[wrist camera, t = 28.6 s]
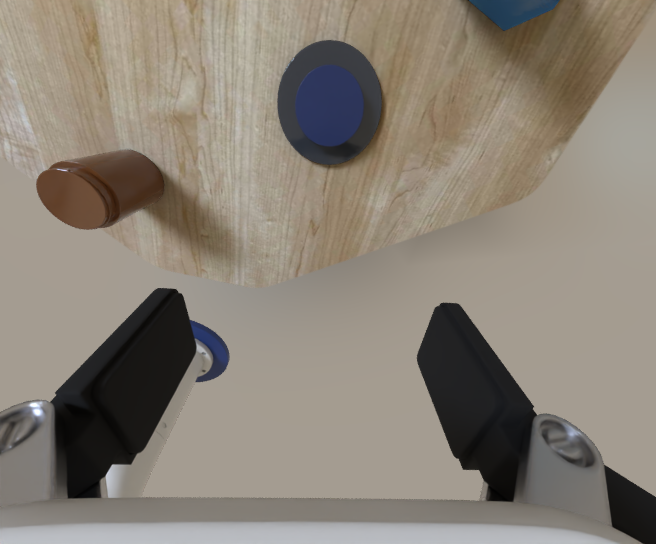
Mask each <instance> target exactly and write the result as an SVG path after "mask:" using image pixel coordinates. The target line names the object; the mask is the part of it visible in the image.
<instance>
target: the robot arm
mask: <svg viewBox="0 0 656 544" xmlns="http://www.w3.org/2000/svg"><path fill="white" fill-rule="evenodd" d="M417 362H418V365H419V368H420V371H421V373H422V376H423V378H424V381H425V384H426V386H427V389H428V391H429V394H430V397H431V399H432V402H433V404H434V407H435V409H436V412H437V415H438V417H439V420H440V422H441V425H442V428H443V430H444V433H445V436H446V438H447V441H448V443H449V446H450V449H451V451H452V453H453V455H454V457H456V458H458V459H459V461H460V463H461V466H462V468H463V470H479V471H480V473H481V475H482V477H483V479H484V482H483V487H482V491H481V495H480V500H479V501H470V500H422V499H414V500H413V499H339V498H337V499H335V498H331V499H330V498H152V497H151V498H150V497H149V498H148V497H146V498H143V497H141V496H142V493H143V491H144V488H145V486H146V484H147V481H148V479H149V477H150V475H151V472H152V470H153V468H154V466H155V463H156V461H157V459H158V457H159V455H160V453H161V451H162V449H163V447H164V445H165V443H166V441H167V439H168V437H169V435H170V433H171V431H172V429H173V426H174V425H175V422H176V420H177V418H178V416H179V414H180V412H181V410H182V408H183V406H184V404H185V402H186V400H187V398H188V396H189V394H190V392H191V389H192V387H193V385H194V383H195V381H196V379H197V377H199V376H202V375H204V374H206V373H207V372H208V371H209V370H210V368H211V366H212V364H213V355H212V353H211V351H210V350H209V348H208V347H207V346H206V345H205V344H203V343H202V342H201V341H199V340H198V339H196V338H194V334H193V330H192V327H191V323H190V319H189V316H188V312H187V309H186V305H185V301H184V297H183V295H182V294H181V293H178V291H177V290H176V289H167V288H158V289H156V290H154V291H153V292H152V293H151V294H150V295H149V296H148V297H147V299H146V300H145V301H144V302H143V303H142V304H141V305H140V306H139V307H138V308H137V309H136V310H135V311H134V312H133V313H132V314H131V315H130V316H129V317H128V318H127V319H126V320H125V321H124V322H123V323H122V324H121V325H120V326H119V327H118V328H117V329H116V330H115V331H114V332H113V334H112V335H111V336H110V337H109V338H108V339H107V340H106V341H105V342H104V343H103V344H102V345H101V346H100V347H99V348H98V349H97V350H96V351H95V352H94V353H93V354H92V355H91V356H90V357H89V358H88V359H87V360H86V361H85V363H83V365H81V367H80V368H79V369H78V370H77V371H76V372H75V373H74V374H73V375H72V376H71V377H70V378H69V379H68V380H67V381H66V382H65V383H64V384H63V385H62V386H61V387H60V388H59V389H58V390H57V391H56V392H55V394H56V396H55V397H54V398H53V400H52V401H51V402H48V401H46V400H32V401H26V402H23V403H20V404H17V405H14V406H12V407H10V408H8V409H5V410H3V411H1V412H0V544H656V497H655V496H653V495H652V494H650V493H648V492H647V491H645V490H643V489H642V488H640V487H639V486H637V485H636V484H634V483H632V482H631V481H629V480H627V479H626V478H624V477H623V476H621V475H620V474H618V473H616V472H615V471H613V470H612V469H610V468H609V467H607V466H605V465H604V463H603V460H602V457H601V454H600V452H599V451H598V449H597V447H596V446H595V444H594V443H593V442H592V441H591V440H590V439H589V438H588V436H586V434H584V433H583V432H582V431H581V430H580V429H578V428H577V427H576V426H574V425H573V424H571V423H570V422H568V421H567V420H565V419H562V418H560V417H558V416H556V415H551V414H539V415H537V414H536V413H535V412H534V410H533V407H534V406H533V405H532V403H531V402H530V400H529V399H528V398H527V396H526V395H525V394H524V392H523V391H522V390H521V388H520V387H519V385H518V384H517V383H516V381H515V380H514V378H513V377H512V376H511V375H510V373H509V372H508V371H507V369H506V367H505V366H504V365H503V363H502V362H501V361H500V359H499V358H498V357H497V355H496V354H495V352H494V351H493V350H492V348H491V347H490V346H489V344H488V343H487V342H486V340H485V339H484V337H483V336H482V335H481V333H480V332H479V330H478V329H477V328H476V326H475V325H474V324H473V322H472V321H471V319H470V318H469V317H468V315H467V314H466V313H465V311H464V310H463V309H462V307H461V306H460V305H459V304H457V303H441V304H440V305H439V306H437V307H436V308H435V309H434V312H433V314H432V317H431V320H430V322H429V325H428V328H427V330H426V333H425V336H424V338H423V341H422V343H421V346H420V349H419V351H418V355H417Z"/></svg>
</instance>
